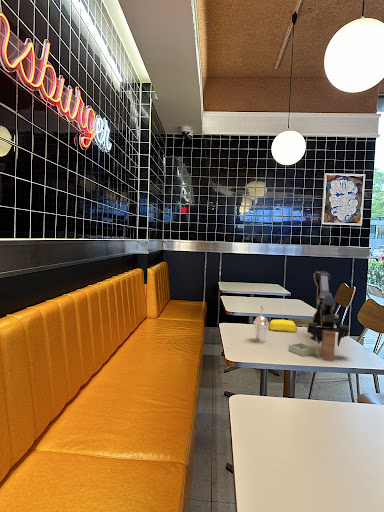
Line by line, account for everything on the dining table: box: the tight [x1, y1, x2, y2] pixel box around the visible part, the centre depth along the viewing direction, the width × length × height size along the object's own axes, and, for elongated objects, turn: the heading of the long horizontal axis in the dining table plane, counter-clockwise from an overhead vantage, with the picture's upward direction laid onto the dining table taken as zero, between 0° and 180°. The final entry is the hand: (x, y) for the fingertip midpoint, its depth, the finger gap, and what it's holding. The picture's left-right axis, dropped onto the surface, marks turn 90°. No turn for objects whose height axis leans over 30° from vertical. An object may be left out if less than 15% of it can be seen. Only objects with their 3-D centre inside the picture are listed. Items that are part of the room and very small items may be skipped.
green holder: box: [288, 342, 317, 357], centre depth 171 cm, size 9×9×3 cm
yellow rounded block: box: [267, 319, 298, 333], centre depth 213 cm, size 18×7×8 cm
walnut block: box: [320, 329, 337, 361], centre depth 164 cm, size 5×5×13 cm
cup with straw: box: [252, 305, 270, 343], centre depth 186 cm, size 8×9×20 cm
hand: (328, 344), depth 163 cm, fingers open, 8 cm apart
